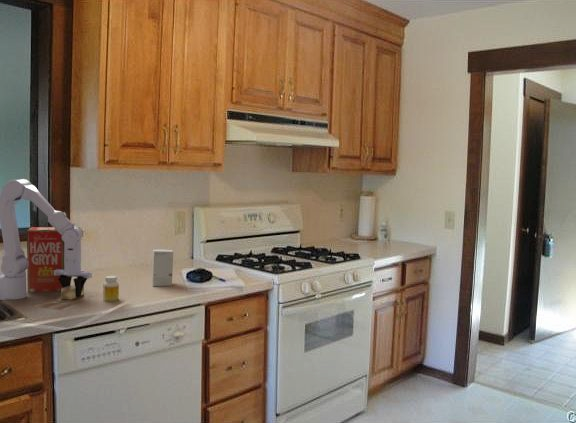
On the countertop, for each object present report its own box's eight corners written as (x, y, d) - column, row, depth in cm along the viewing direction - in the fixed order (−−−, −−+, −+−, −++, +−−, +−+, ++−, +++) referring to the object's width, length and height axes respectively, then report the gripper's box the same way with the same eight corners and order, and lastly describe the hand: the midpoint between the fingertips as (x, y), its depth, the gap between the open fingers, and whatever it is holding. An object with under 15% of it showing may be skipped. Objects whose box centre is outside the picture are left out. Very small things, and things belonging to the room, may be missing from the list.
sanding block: (61, 299, 194) (61, 288, 193) (74, 294, 201) (74, 283, 201) (71, 300, 193) (70, 289, 192) (84, 295, 201) (83, 284, 200)
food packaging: (26, 294, 202) (25, 229, 200) (31, 289, 211) (30, 226, 209) (64, 293, 206) (64, 229, 203) (67, 288, 215) (67, 226, 212)
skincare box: (152, 286, 222) (152, 251, 220) (151, 283, 228) (152, 248, 226) (173, 285, 224) (173, 251, 223) (171, 282, 230) (172, 248, 229)
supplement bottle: (100, 302, 196) (100, 276, 195) (113, 299, 200) (114, 274, 199) (107, 305, 192) (107, 279, 191) (121, 302, 196) (121, 277, 195)
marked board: (31, 309, 184) (31, 306, 184) (67, 295, 203) (67, 292, 203) (60, 312, 181) (60, 309, 181) (93, 298, 201) (93, 295, 201)
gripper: (48, 260, 193) (48, 296, 195) (84, 263, 190) (84, 300, 192) (60, 256, 200) (60, 292, 202) (95, 259, 197) (95, 295, 198)
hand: (72, 295), depth 197 cm, fingers closed on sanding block, 4 cm apart
